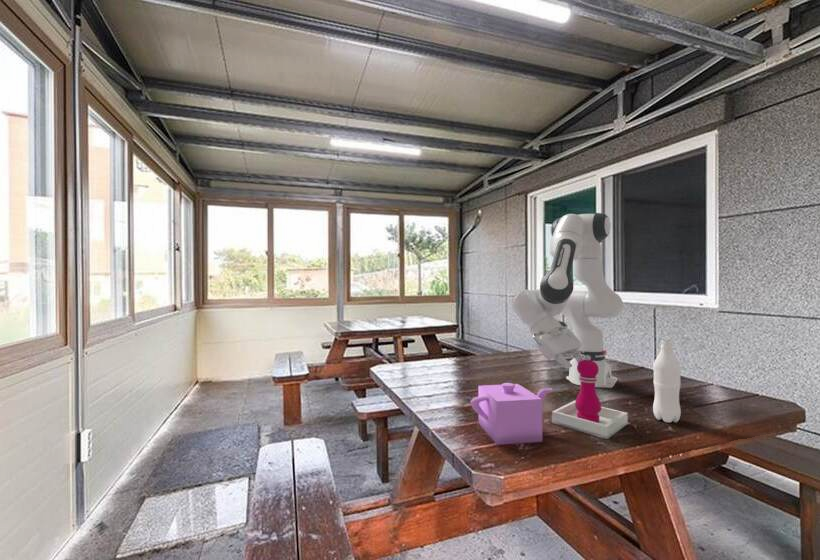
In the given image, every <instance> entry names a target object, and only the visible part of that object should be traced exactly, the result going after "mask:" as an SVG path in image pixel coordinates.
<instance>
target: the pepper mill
mask: <svg viewBox="0 0 820 560" xmlns="http://www.w3.org/2000/svg"><path fill="white" fill-rule="evenodd" d="M577 371H578V372H579V373H580V375H579V380H580V382H581V385H580V390H579V393H578V395H577V397H576V399H575V400H576V402H575V407H576V409H577V410H578V411H579V412H577V417H578V418H582V419H585V420H589V421H593V422H596V423H599V415H598V413H599V412H600V411H601V407H602V404H601V402H600V399H599V397H598V394H597V392H596V387H595V382H597V377H596V375H597V374H598V371H599V368H598V365H597V364H596V363H595V362H593V361H591V357H590V356H589V355H586V356H585V360H582V361H580V362H579V363H578V365H577Z"/></svg>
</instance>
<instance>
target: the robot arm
mask: <svg viewBox="0 0 820 560" xmlns="http://www.w3.org/2000/svg"><path fill="white" fill-rule="evenodd" d="M610 231H611V220H610V218H609V216H608V215H607V214H606V213H602V212H595V213H580V214H577V213H567V214H565V215H562V217H559V218H556V219H555V220H554V221H552V224H551V227H550V233H551V237H552V238H551V241H550V248H549V249H550V250H549V251H550V255H551V257H553V258H552V261H551V267H550V269H549V270H548V271H547V272H546V273H545V274H544V276H543V277H542V278H541V280H540V283H539V288H537V289H526V288H523V289H521V290H519V291H517V293H515V295H514V296H513V297H512V301H511V308H512V310H513V311H514V313H515V314H516V316H517V317H518V318H519V320H520V321H521V322H522V323H523V324H524V325H526V326H527V328H528V330H529V332H530V333H531V334H532V336H533V337H532V339H533V340H534V344H535V346H536V348H537V349H538V351H539V352H540V353H541V355H542V356H543V357H544V358H545V360H546V361H551V360H555V361H556V362H557V363H559V364H561V366H563V368H564V369H566V370H568V369H569V371H568V373H569V374H568V375H567V376H566V380H567V381H569V382H571V384H574V385H577V386H581V382H580V380H579V375H580V373H579V372H578V371H577V365H578V363H579V362H580V361H582V360H585V356H586V355H589V356H590V357H591V361H593V362H595V363H596V364H597V365H598V368H599V371H598V374H597V375H596V377H597V382H595V388H608V389H612V388H613V387H614V386H615V385H616V383H617V381H618V378H617V377H615V376H612V367H611V365H610V364H609V363H608V362H607V361H606V355H607V350H606V349H604V333H603V332H602V330H601V329H600V328H599V327H598V326H596V325H594V324H593V323H592V322H591V321H590V318H599V319H600V318H601V319H607V318H608V319H609V318H616V317H618V316H619V315H620V314H621V313H622V312H623V308H624V304H623V303H624V302H623V300H622V298H621V296H620V295H619V294H618V293H616V292H615V291H614V290H613V289H612V288H611V287H610V286H609V285H608V283H607V282H606V279H605V277H604V269H603V253H602V245H601V243H602V242H603V241H604V240H605V239H607V237H609V234H610ZM572 269H573V273H572V274H573V276H574V278H575V280H577V281H578V282H580V283H583V285H585V287H586V289H587V290H574V282H573V278H572V274H571V272H572ZM560 313H561V314H563V315H564V316H565V317H566V318H567V320H568V321H569V323H570V325H571V327H572V330H573V331H572V330H571V329H569V328H568V327H569V325H568V324H567V323H566V322H564V321H561V320H558V319H556V318H554V317H555V316H556V315H560ZM570 354H572V357H573V358H572V359H571V360H567V359H565V358H564V356H568V355H570Z"/></svg>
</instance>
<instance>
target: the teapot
mask: <svg viewBox="0 0 820 560" xmlns="http://www.w3.org/2000/svg"><path fill="white" fill-rule="evenodd" d="M477 388H478V389H477V391H478V395H477V396H476V397H473V398H471V399H470V406H471V408H472V410H473V411H474V412H475V413H476V414H478V418H477V419H478V423H477V424H479V426H480V427H481V428H482V429H483V430H484V432H485V433H486V434H487V435H488V436H489V437H490V439H491V440H492V441H493V442H494V443H495V444H496V445H497V446H500V445H514V444H515V445H517V444H530V443H543V404H544V403H543V402H544V399H545V397H546V395H547V394H548V393H549V392H550V391H552V390H553V388H552V387H551V388H550V387H545V388H544V387H543V388H541V389H540V390H539V391H538V392H537V394H535V393H533V392H532V391H530V390H529V389H528V388H525V387H523V386H522V385H520V383H511V382H504V383H502V384H487V385H485V384H484V385H478V387H477Z"/></svg>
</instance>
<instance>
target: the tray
mask: <svg viewBox="0 0 820 560" xmlns="http://www.w3.org/2000/svg"><path fill="white" fill-rule="evenodd" d="M575 402H576V399H575V400H572V401H570V402H569V403H567V404H565V405H562V406H560V407H559V408H557V409H554V410H552V411H551V424H555V425H558V426H561V427H564V428H568V429H571V430H575V431H577V432H580V433H584V434H588V435H591V436H593V437H598V438H601V439H604V440H608V439H610V438H611V437H613V436H614V435H615V434H616V433H618V432H619V431H621V430H622V429H623V428H624V427H626V426H628V412H626V411H625V412H624V411H620V410H615V409H613V408H609V407H605V406H601V411H600V412H599V413H598V415H599V423H596V422H593V421H589V420H585V419H582V418H578V417H577V412H579V411H578V410H577V409H576V407H575Z"/></svg>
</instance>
